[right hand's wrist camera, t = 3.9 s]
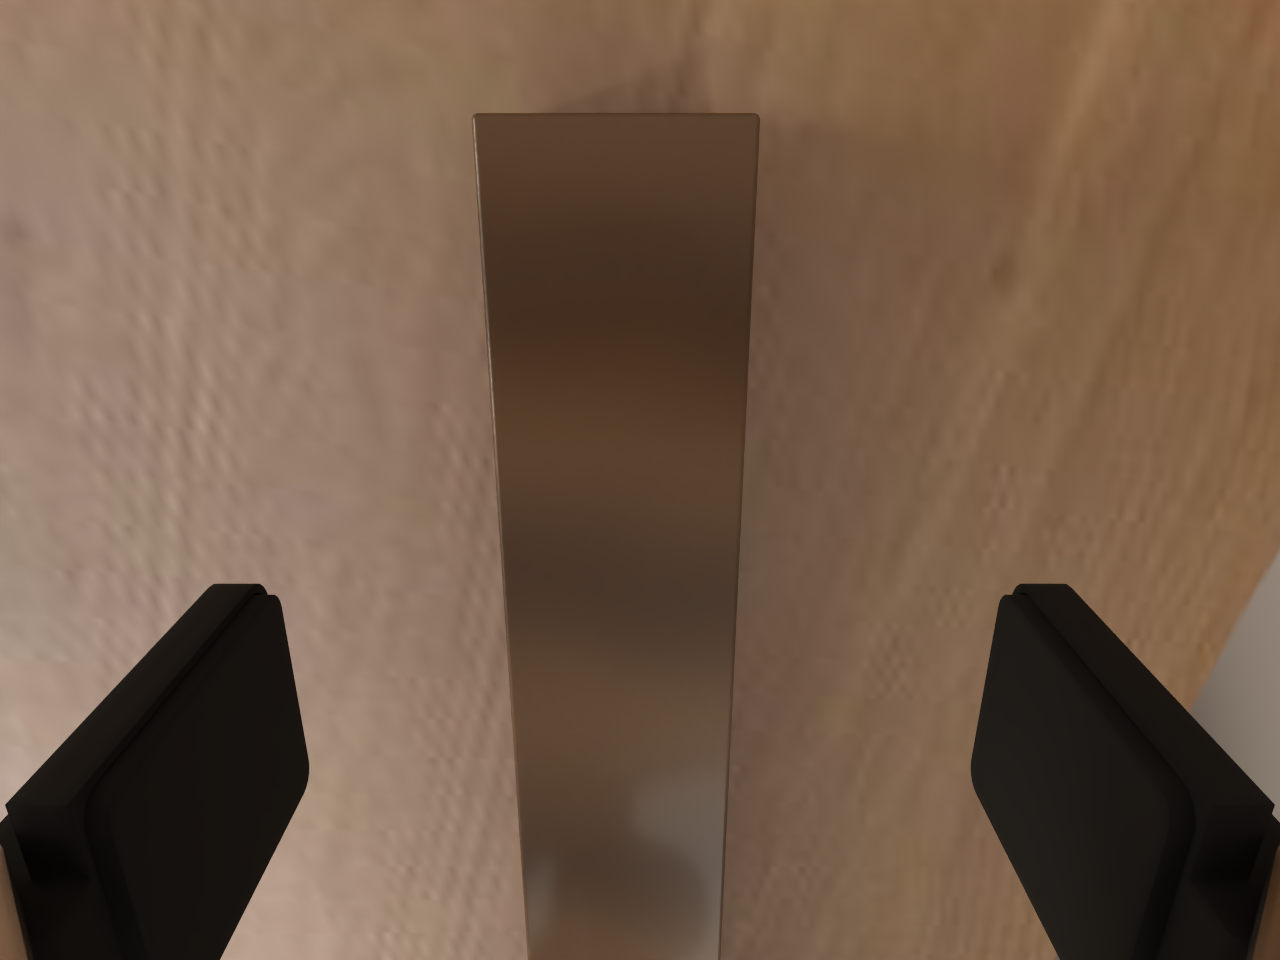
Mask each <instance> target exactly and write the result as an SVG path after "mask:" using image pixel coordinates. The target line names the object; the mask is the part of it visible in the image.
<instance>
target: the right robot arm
mask: <svg viewBox="0 0 1280 960" xmlns="http://www.w3.org/2000/svg"><path fill="white" fill-rule="evenodd" d="M308 776H309V760H308V754H307V748H306V743H305V737H304V731H303V726H302V720H301V714H300V709H299V703H298V697H297V692H296V686H295V680H294V675H293V669H292V663H291V658H290V652H289V646H288V641H287V635H286V629H285V623H284V618H283V612H282V607H281V603H280V600H279V598H278V597H277V596H276V595H268V594H267V592H266V590H265V588H264V587H263V586H262V585H261V584H213V585H212V586H210V587H209V588H208V589H207V590H206V591H205V592H204V593H203V594H202V595H201V596H200V598H199V599H198V600H197V601H196V602H195V603H194V604H193V605H192V606H191V607H190V608H189V609H188V610H187V611H186V612H185V614H184V615H183V616H182V617H181V618H180V619H179V620H178V621H177V622H176V623H175V624H174V625H173V626H172V627H171V628H170V630H169V631H168V632H167V633H166V634H165V635H164V636H163V637H162V638H161V639H160V640H159V641H158V642H157V643H156V644H155V646H154V647H153V648H152V649H151V650H150V651H149V652H148V653H147V654H146V655H145V656H144V657H143V658H142V659H141V660H140V662H139V663H138V664H137V665H136V666H135V667H134V668H133V669H132V670H131V671H130V672H129V673H128V674H127V675H126V676H125V678H124V679H123V680H122V681H121V682H120V683H119V684H118V685H117V686H116V687H115V688H114V689H113V690H112V691H111V692H110V694H109V695H108V696H107V697H106V698H105V699H104V700H103V701H102V702H101V703H100V704H99V705H98V706H97V707H96V708H95V710H94V711H93V712H92V713H91V714H90V715H89V716H88V717H87V718H86V719H85V720H84V721H83V722H82V723H81V724H80V726H79V727H78V728H77V729H76V730H75V731H74V732H73V733H72V734H71V735H70V736H69V737H68V738H67V739H66V740H65V742H64V743H63V744H62V745H61V746H60V747H59V748H58V749H57V750H56V751H55V752H54V753H53V754H52V755H51V756H50V758H49V759H48V760H47V761H46V762H45V763H44V764H43V765H42V766H41V767H40V768H39V769H38V770H37V771H36V772H35V774H34V775H33V776H32V777H31V778H30V779H29V780H28V781H27V782H26V783H25V784H24V785H23V786H22V787H21V788H20V790H19V791H18V792H17V793H16V794H15V795H14V796H13V797H12V798H11V799H10V800H9V801H8V802H7V803H6V804H5V806H6V809H7V812H8V815H7V816H6V817H5V818H4V819H3V820H2V821H1V822H0V960H220V958H221V956H222V954H223V953H224V951H225V949H226V947H227V945H228V943H229V941H230V939H231V937H232V935H233V933H234V931H235V929H236V927H237V925H238V923H239V921H240V919H241V917H242V915H243V913H244V911H245V909H246V907H247V905H248V903H249V901H250V899H251V897H252V895H253V893H254V891H255V889H256V887H257V885H258V883H259V881H260V879H261V877H262V875H263V873H264V871H265V869H266V867H267V865H268V863H269V861H270V859H271V857H272V855H273V853H274V852H275V850H276V848H277V846H278V844H279V842H280V840H281V838H282V836H283V834H284V832H285V830H286V828H287V826H288V824H289V822H290V820H291V818H292V816H293V814H294V812H295V810H296V808H297V806H298V804H299V802H300V800H301V798H302V796H303V794H304V792H305V789H306V786H307V782H308ZM971 776H972V782H973V786H974V789H975V792H976V794H977V796H978V798H979V800H980V802H981V804H982V806H983V808H984V810H985V812H986V814H987V816H988V818H989V820H990V822H991V824H992V826H993V828H994V830H995V832H996V834H997V836H998V838H999V840H1000V842H1001V844H1002V846H1003V848H1004V850H1005V852H1006V853H1007V855H1008V857H1009V859H1010V861H1011V863H1012V865H1013V867H1014V869H1015V871H1016V873H1017V875H1018V877H1019V879H1020V881H1021V883H1022V885H1023V887H1024V889H1025V891H1026V893H1027V895H1028V897H1029V899H1030V901H1031V903H1032V905H1033V907H1034V909H1035V911H1036V913H1037V915H1038V917H1039V919H1040V921H1041V923H1042V925H1043V927H1044V929H1045V931H1046V933H1047V935H1048V937H1049V939H1050V941H1051V943H1052V945H1053V947H1054V949H1055V951H1056V953H1057V954H1058V956H1059V958H1060V960H1280V822H1279V821H1278V820H1277V819H1276V818H1275V817H1274V816H1273V815H1272V812H1273V809H1274V806H1275V805H1274V803H1273V802H1272V801H1271V800H1270V799H1269V798H1268V797H1267V796H1266V795H1265V794H1264V793H1263V792H1262V791H1261V790H1260V788H1259V787H1258V786H1257V785H1256V784H1255V783H1254V782H1253V781H1252V780H1251V779H1250V778H1249V777H1248V776H1247V775H1246V774H1245V772H1244V771H1243V770H1242V769H1241V768H1240V767H1239V766H1238V765H1237V764H1236V763H1235V762H1234V761H1233V760H1232V759H1231V758H1230V756H1229V755H1228V754H1227V753H1226V752H1225V751H1224V750H1223V749H1222V748H1221V747H1220V746H1219V745H1218V744H1217V743H1216V742H1215V740H1214V739H1213V738H1212V737H1211V736H1210V735H1209V734H1208V733H1207V732H1206V731H1205V730H1204V729H1203V728H1202V727H1201V726H1200V724H1199V723H1198V722H1197V721H1196V720H1195V719H1194V718H1193V717H1192V716H1191V715H1190V714H1189V713H1188V712H1187V711H1186V710H1185V708H1184V707H1183V706H1182V705H1181V704H1180V703H1179V702H1178V701H1177V700H1176V699H1175V698H1174V697H1173V696H1172V695H1171V694H1170V692H1169V691H1168V690H1167V689H1166V688H1165V687H1164V686H1163V685H1162V684H1161V683H1160V682H1159V681H1158V680H1157V679H1156V678H1155V676H1154V675H1153V674H1152V673H1151V672H1150V671H1149V670H1148V669H1147V668H1146V667H1145V666H1144V665H1143V664H1142V663H1141V662H1140V660H1139V659H1138V658H1137V657H1136V656H1135V655H1134V654H1133V653H1132V652H1131V651H1130V650H1129V649H1128V648H1127V647H1126V646H1125V644H1124V643H1123V642H1122V641H1121V640H1120V639H1119V638H1118V637H1117V636H1116V635H1115V634H1114V633H1113V632H1112V631H1111V630H1110V628H1109V627H1108V626H1107V625H1106V624H1105V623H1104V622H1103V621H1102V620H1101V619H1100V618H1099V617H1098V616H1097V615H1096V614H1095V612H1094V611H1093V610H1092V609H1091V608H1090V607H1089V606H1088V605H1087V604H1086V603H1085V602H1084V601H1083V600H1082V599H1081V598H1080V596H1079V595H1078V594H1077V593H1076V592H1075V591H1074V590H1073V589H1072V588H1071V587H1070V586H1068V585H1067V584H1019V585H1018V586H1017V587H1016V588H1015V590H1014V592H1013V594H1012V595H1004V596H1003V597H1002V598H1001V600H1000V603H999V607H998V612H997V618H996V623H995V629H994V635H993V641H992V646H991V652H990V658H989V663H988V669H987V675H986V680H985V686H984V692H983V697H982V703H981V709H980V714H979V720H978V726H977V731H976V737H975V743H974V748H973V754H972V760H971Z"/></svg>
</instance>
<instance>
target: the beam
mask: <svg viewBox="0 0 1280 960" xmlns="http://www.w3.org/2000/svg"><path fill="white" fill-rule="evenodd" d="M472 128H473V143H474V158H475V173H476V188H477V203H478V218H479V233H480V248H481V263H482V278H483V293H484V308H485V323H486V338H487V353H488V368H489V383H490V398H491V413H492V428H493V443H494V458H495V473H496V488H497V503H498V518H499V533H500V548H501V563H502V578H503V593H504V608H505V623H506V638H507V653H508V668H509V683H510V698H511V713H512V728H513V743H514V757H515V772H516V787H517V802H518V817H519V832H520V847H521V862H522V877H523V892H524V907H525V922H526V937H527V952H528V960H720V952H721V931H722V909H723V888H724V867H725V846H726V825H727V804H728V783H729V762H730V741H731V720H732V698H733V677H734V656H735V635H736V614H737V593H738V572H739V551H740V530H741V508H742V487H743V466H744V445H745V424H746V403H747V382H748V361H749V340H750V318H751V297H752V276H753V255H754V234H755V213H756V192H757V171H758V150H759V129H760V118H759V115H757V114H755V113H477V114H475V115H473V118H472Z"/></svg>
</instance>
